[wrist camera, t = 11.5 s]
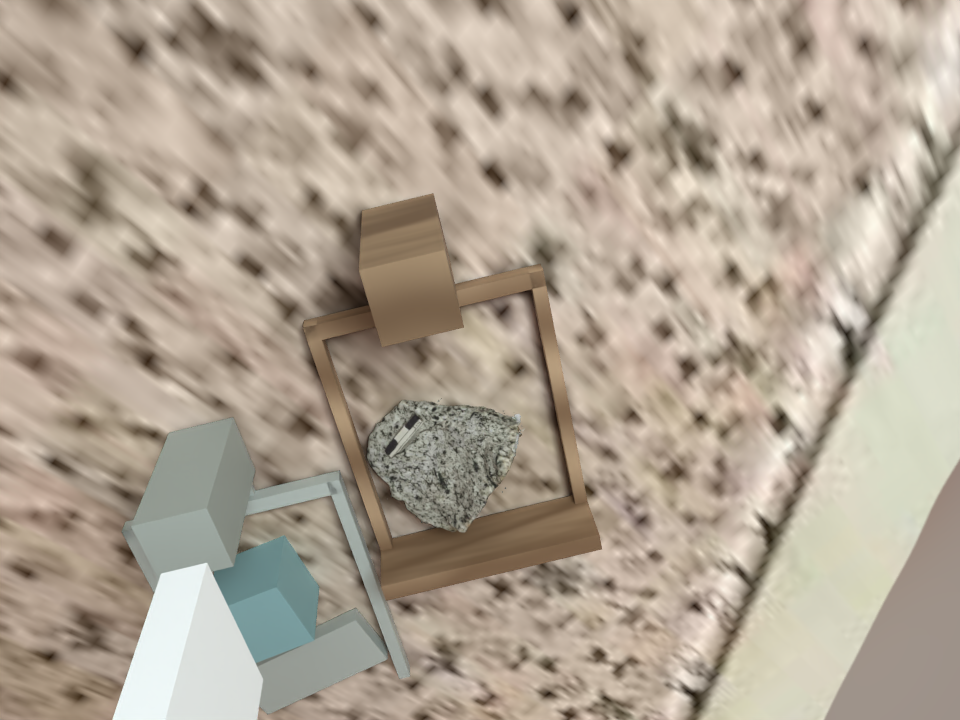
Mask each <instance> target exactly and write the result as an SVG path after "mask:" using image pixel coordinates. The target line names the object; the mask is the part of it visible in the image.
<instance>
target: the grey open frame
mask: <svg viewBox="0 0 960 720" xmlns="http://www.w3.org/2000/svg"><path fill="white" fill-rule="evenodd" d="M254 473H255V468H254V466H253V463H252V461H251V459H250V456H249V454H248V451H247V449H246V447H245V444H244V442H243V439H242V437H241V435H240V432H239V430H238V427H237V425H236V423H235V420H234V418H233V417H232V418H228V419H224V420H220V421H216V422H212V423H207V424H203V425H199V426H195V427H191V428H187V429H183V430H178V431H174V432H170V433H169V434H168V437H167V439H166V442H165V444H164V446H163V449H162V451H161V454H160V456H159V459H158V461H157V464H156V466H155V469H154V471H153V473H152V476H151V478H150V481H149V483H148V486H147V488H146V491H145V493H144V495H143V498H142V500H141V503H140V505H139V508H138V510H137V513H136V515H135V518H134V520H131V521H127V522H125V525H124V527H123V529H122V534H123V536H124V537H125V539H126V541H127V543H128V545H129V547H130V549H131V551H132V552H133V554H134V556H135V558H136V560H137V562H138V564H139V566H140V567H141V569H142V571H143V573H144V575H145V577H146V579H147V581H148V582H149V584H150V586H151V588H152V590H153V592H154V593H155V590H156V587H157V584H158V581H159V578H160V575H161V574H162V573H166V572H170V571H174V570H179V569H183V568H187V567H191V566H195V565H199V564H204V563H207V564H208V566H209V568H210V570H211V572H212V571H217V570H221V569H225V568H229V567H233V566H234V563H235V558H236V554H237V549H238V545H239V540H240V536H241V532H242V527H243V523H244V518H245V516H246V515H250V514H255V513H259V512H263V511H267V510H271V509H275V508H280V507H284V506H288V505H292V504H296V503H301V502H305V501H309V500H313V499H317V498H321V497H326V496H330V495H331V496H332V499H333V502H334V504H335V507H336V510H337V512H338V515H339V518H340V520H341V523H342V526H343V528H344V531H345V534H346V537H347V539H348V542H349V545H350V547H351V550H352V553H353V555H354V558H355V561H356V563H357V566H358V569H359V572H360V574H361V577H362V580H363V582H364V585H365V588H366V590H367V593H368V596H369V598H370V601H371V604H372V607H373V609H374V612H375V615H376V617H377V620H378V623H379V625H380V628H381V631H382V633H383V636H384V639H385V642H386V644H387V647H388V650H389V652H390V655H391V658H392V660H393V663H394V666H395V668H396V671H397V674H398V677H399V679H402V678H406V677H410V665H409V662H408V660H407V657H406V654H405V651H404V649H403V646H402V643H401V640H400V637H399V635H398V632H397V629H396V626H395V623H394V621H393V618H392V615H391V612H390V610H389V607H388V604H387V601H386V600H385V597H384V594H383V591H382V588H381V584H380V582H379V579H378V576H377V573H376V571H375V568H374V565H373V562H372V559H371V557H370V554H369V551H368V548H367V545H366V543H365V540H364V537H363V534H362V532H361V529H360V526H359V523H358V520H357V518H356V515H355V512H354V509H353V507H352V504H351V501H350V498H349V495H348V493H347V490H346V487H345V484H344V481H343V479H342V476H341V473H340V470H339V471H335V472H331V473H327V474H323V475H319V476H314V477H310V478H306V479H302V480H298V481H294V482H289V483H285V484H281V485H277V486H273V487H269V488H264V489H260V490H256V491H255V488H254V486H253V484H252V482H253V478H254Z"/></svg>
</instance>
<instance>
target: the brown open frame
mask: <svg viewBox="0 0 960 720" xmlns="http://www.w3.org/2000/svg"><path fill="white" fill-rule="evenodd" d="M359 273H360V276H361V280H362V283H363V286H364V290H365V293H366V296H367V299H368V303H369V305H367V306H363V307H358V308H354V309H350V310H346V311H342V312H338V313H334V314H329V315H325V316H321V317H317V318H313V319H309V320H304V323H303V330H304V333H305V336H306V339H307V342H308V345H309V347H310V350H311V353H312V356H313V359H314V362H315V365H316V367H317V370H318V373H319V376H320V379H321V382H322V385H323V387H324V390H325V393H326V396H327V399H328V402H329V405H330V407H331V410H332V413H333V416H334V419H335V422H336V425H337V427H338V430H339V433H340V436H341V439H342V442H343V445H344V447H345V450H346V453H347V456H348V459H349V462H350V465H351V467H352V470H353V473H354V476H355V479H356V482H357V485H358V487H359V490H360V493H361V496H362V499H363V502H364V505H365V507H366V510H367V513H368V516H369V519H370V522H371V525H372V527H373V530H374V533H375V536H376V539H377V542H378V545H379V547H380V550H381V588H382V591H383V594H384V597H385V600H386V601H387V600H391V599H396V598H400V597H404V596H408V595H412V594H417V593H421V592H425V591H429V590H433V589H437V588H442V587H446V586H450V585H454V584H458V583H463V582H467V581H471V580H475V579H479V578H483V577H488V576H492V575H496V574H500V573H504V572H509V571H513V570H517V569H521V568H525V567H529V566H534V565H538V564H542V563H546V562H550V561H555V560H559V559H563V558H567V557H571V556H575V555H580V554H584V553H588V552H592V551H596V550H601V549H602V547H601V541H600V536H599V532H598V530H597V527H596V524H595V521H594V519H593V516H592V513H591V510H590V507H589V505H588V502H587V497H586V492H585V486H584V481H583V476H582V471H581V465H580V460H579V455H578V450H577V445H576V439H575V434H574V429H573V424H572V418H571V413H570V408H569V403H568V398H567V392H566V387H565V382H564V377H563V372H562V366H561V361H560V356H559V351H558V345H557V340H556V335H555V330H554V325H553V319H552V314H551V309H550V304H549V298H548V293H547V288H546V283H545V278H544V272H543V269H542V267H541V265H540V264H537V265H533V266H529V267H524V268H520V269H516V270H512V271H508V272H504V273H500V274H495V275H491V276H487V277H483V278H479V279H475V280H470V281H466V282H462V283H458V284H455V282H454V278H453V273H452V268H451V263H450V259H449V255H448V251H447V247H446V243H445V239H444V235H443V231H442V226H441V222H440V218H439V214H438V210H437V206H436V202H435V198H434V194H429V195H425V196H420V197H416V198H412V199H408V200H404V201H400V202H396V203H391V204H387V205H383V206H379V207H375V208H371V209H367V210H362V222H361V240H360V258H359ZM527 290H531V291H532V296H533V301H534V306H535V311H536V316H537V321H538V326H539V331H540V336H541V341H542V346H543V351H544V356H545V361H546V366H547V371H548V376H549V381H550V386H551V391H552V396H553V401H554V406H555V411H556V416H557V421H558V426H559V431H560V436H561V441H562V445H563V450H564V455H565V460H566V465H567V470H568V475H569V480H570V485H571V490H572V496H568V497H564V498H560V499H555V500H551V501H547V502H543V503H539V504H535V505H530V506H526V507H522V508H518V509H514V510H509V511H505V512H501V513H497V514H493V515H489V516H484V517H480V518H476V519H474V520H473V522H472V524H471V525H470V527H469V528H468V530H467V531H466V532H465V533H462V532H459V531H458V530H457V531H456V532H451V531H448V530H446V529H443V528H434V529H430V530H426V531H422V532H418V533H413V534H409V535H405V536H401V537H397V538H393V539H392V536H391V533H390V530H389V527H388V524H387V521H386V518H385V515H384V512H383V509H382V506H381V503H380V501H379V498H378V495H377V492H376V489H375V486H374V483H373V480H372V477H371V474H370V471H369V468H368V465H367V462H366V459H365V456H364V453H363V450H362V447H361V444H360V441H359V438H358V436H357V433H356V430H355V427H354V424H353V421H352V418H351V415H350V412H349V409H348V406H347V403H346V400H345V397H344V394H343V391H342V388H341V385H340V382H339V379H338V376H337V373H336V371H335V368H334V365H333V362H332V359H331V356H330V353H329V350H328V347H327V344H326V341H325V339H328V338H332V337H336V336H340V335H344V334H349V333H353V332H357V331H361V330H365V329H369V328H373V327H376V329H377V332H378V336H379V339H380V342H381V345H382V347H385V346H389V345H393V344H397V343H401V342H405V341H409V340H414V339H418V338H422V337H426V336H430V335H434V334H439V333H443V332H447V331H451V330H455V329H459V328H464V325H463V321H462V316H461V311H460V307H461V306H465V305H469V304H473V303H477V302H481V301H486V300H490V299H494V298H498V297H502V296H506V295H511V294H515V293H519V292H523V291H527Z"/></svg>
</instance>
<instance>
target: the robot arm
mask: <svg viewBox="0 0 960 720" xmlns="http://www.w3.org/2000/svg"><path fill="white" fill-rule="evenodd" d="M262 684H263V678H262V676H261V674H260V671H259V669H258V667H257V665H256V663H255V661H254V659H253V657H252V655H251V653H250V651H249V649H248V647H247V644H246V642H245V640H244V638H243V636H242V634H241V632H240V630H239V628H238V626H237V624H236V622H235V620H234V617H233V615H232V613H231V611H230V609H229V607H228V605H227V603H226V601H225V599H224V597H223V595H222V593H221V591H220V588H219V586H218V584H217V582H216V580H215V578H214V576H213V574H212V572H211V570H210V568H209V566H208V564H207V563H204V564H199V565H195V566H191V567H187V568H183V569H179V570H174V571H170V572H166V573H162V574H161V575H160V578H159V581H158V584H157V587H156V590H155V593H154V596H153V599H152V602H151V605H150V608H149V611H148V614H147V617H146V620H145V623H144V626H143V629H142V632H141V635H140V638H139V641H138V644H137V647H136V650H135V653H134V656H133V659H132V662H131V665H130V668H129V671H128V674H127V678H126V681H125V684H124V687H123V690H122V693H121V696H120V699H119V702H118V705H117V708H116V711H115V714H114V717H113V720H257V717H258V710H259V704H260V697H261V690H262Z"/></svg>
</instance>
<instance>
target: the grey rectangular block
mask: <svg viewBox="0 0 960 720" xmlns="http://www.w3.org/2000/svg"><path fill="white" fill-rule="evenodd" d="M387 659H388V651H387V645H386V644H385V643H384V642H383V640H382V639H381V638H380V637H379V636H378V634H377V633H376V632H375V631H374V629H373V628H372V627H371V626H370V625H369V623H368V622H367V621H366V620H365V618H364V617H363V616H362V615H361V614H360V612H359V611H358V610H357V609H356V608H355V609H353V610H350V611H348V612H346V613H344V614H342V615H340V616H338V617H336V618H334V619H331V620H329V621H327V622H325V623H323V624H321V625H319V626H317V627H316V628H315V640H314V641H312V642H310V643H307V644H304V645H302V646H299V647H296V648H294V649H291V650H289V651H286V652H283V653H281V654H278V655H276V656H273V657H270V658H268V659H265V660H263V661H260V662H257V663H256V665H257V667H258V669H259V671H260V674H261V676H262V678H263V684H262V690H261V697H260V704H259V706H260V707H261V708H262V709H263V710H264V711H265V712H266V713H267V714H270V713H273V712H275V711H277V710H279V709H281V708H283V707H286V706H288V705H290V704H292V703H294V702H296V701H298V700H301V699H303V698H305V697H307V696H309V695H311V694H314V693H316V692H318V691H320V690H322V689H324V688H327V687H329V686H331V685H333V684H335V683H337V682H340V681H342V680H344V679H346V678H348V677H350V676H352V675H355V674H357V673H359V672H361V671H363V670H365V669H368V668H370V667H372V666H374V665H376V664H378V663H381V662H383V661H385V660H387Z"/></svg>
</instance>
